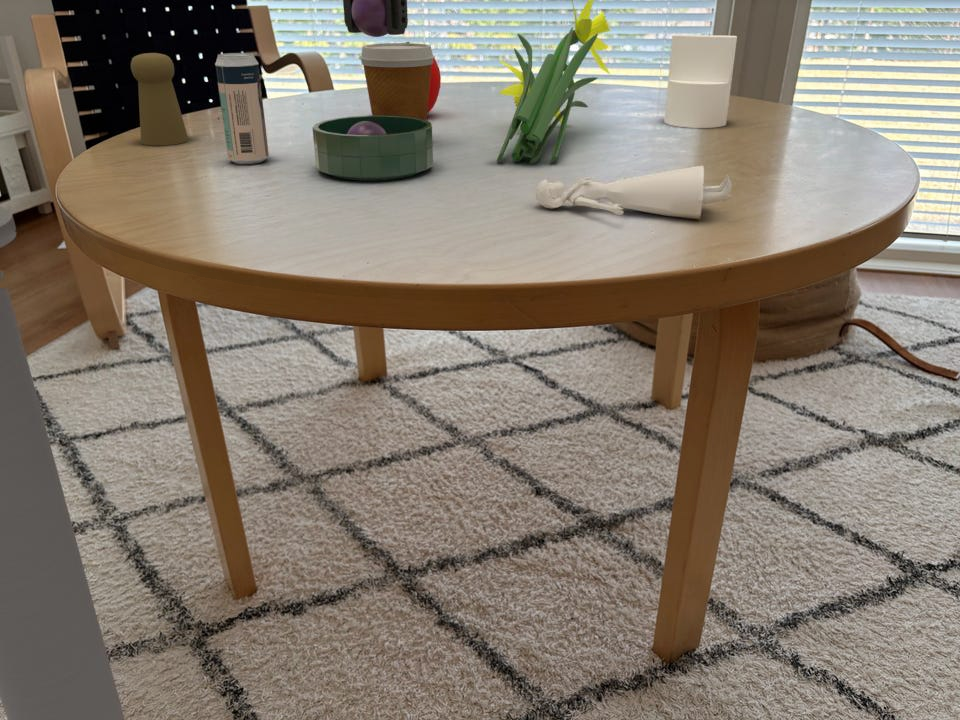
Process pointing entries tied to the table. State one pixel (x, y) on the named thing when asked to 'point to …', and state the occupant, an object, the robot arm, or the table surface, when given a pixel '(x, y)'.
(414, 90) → the disposable coffee cup
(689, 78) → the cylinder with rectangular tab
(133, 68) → the olive pawn
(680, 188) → the woman figurine
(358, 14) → the ball front
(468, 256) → the table surface
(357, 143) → the bowl
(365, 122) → the ball left
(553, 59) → the daffodil flowers
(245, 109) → the beer can
